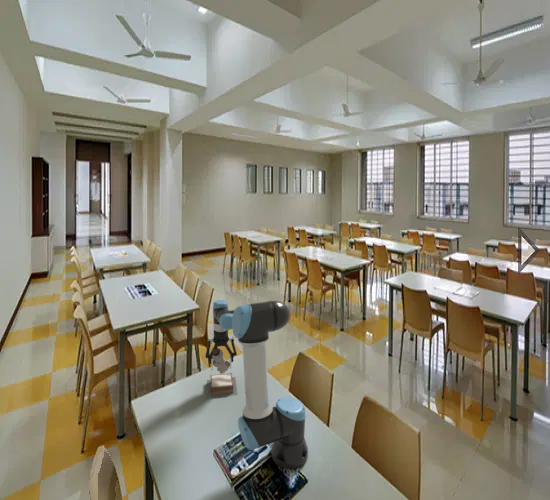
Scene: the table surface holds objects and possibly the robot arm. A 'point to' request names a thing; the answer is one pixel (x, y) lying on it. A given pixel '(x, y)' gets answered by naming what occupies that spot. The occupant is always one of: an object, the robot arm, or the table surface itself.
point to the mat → (222, 394)
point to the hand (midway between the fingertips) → (221, 368)
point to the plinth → (221, 384)
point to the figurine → (220, 361)
